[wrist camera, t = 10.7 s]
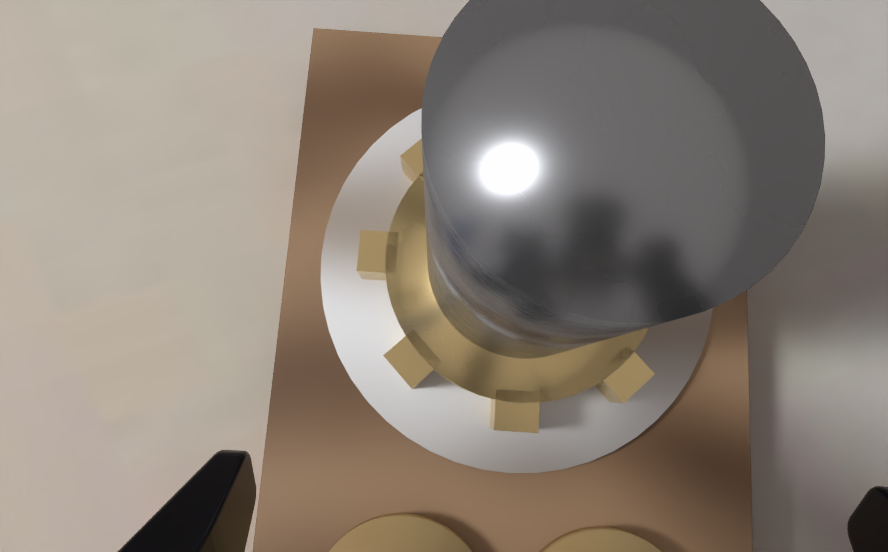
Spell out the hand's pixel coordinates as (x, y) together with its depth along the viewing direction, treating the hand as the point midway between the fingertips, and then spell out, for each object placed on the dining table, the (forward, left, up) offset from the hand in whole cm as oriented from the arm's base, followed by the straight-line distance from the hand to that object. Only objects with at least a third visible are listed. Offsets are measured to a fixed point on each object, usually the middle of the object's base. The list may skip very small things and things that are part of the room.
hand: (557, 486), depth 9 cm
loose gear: (+5, 0, -7) cm, 9 cm away
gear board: (+1, 0, -9) cm, 9 cm away
